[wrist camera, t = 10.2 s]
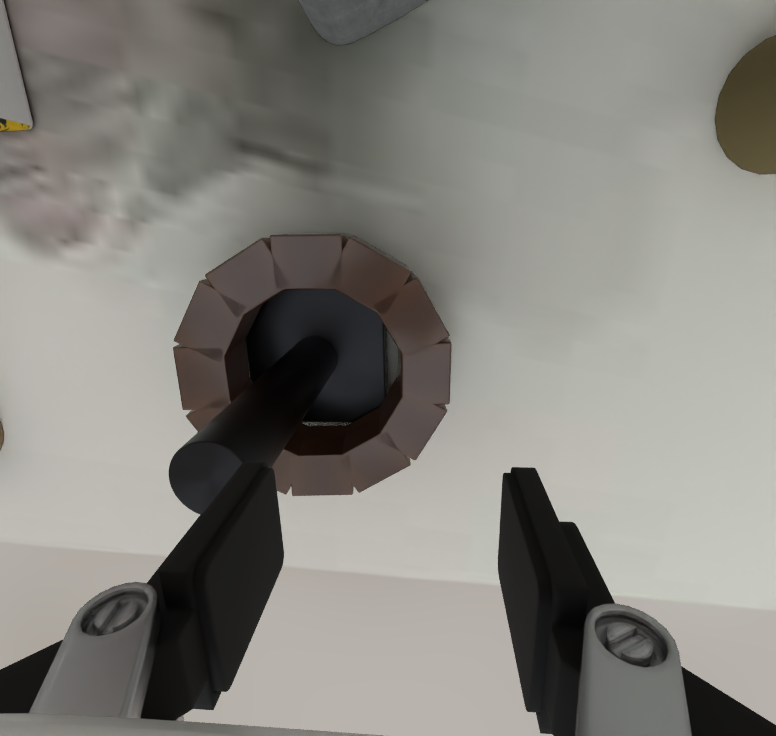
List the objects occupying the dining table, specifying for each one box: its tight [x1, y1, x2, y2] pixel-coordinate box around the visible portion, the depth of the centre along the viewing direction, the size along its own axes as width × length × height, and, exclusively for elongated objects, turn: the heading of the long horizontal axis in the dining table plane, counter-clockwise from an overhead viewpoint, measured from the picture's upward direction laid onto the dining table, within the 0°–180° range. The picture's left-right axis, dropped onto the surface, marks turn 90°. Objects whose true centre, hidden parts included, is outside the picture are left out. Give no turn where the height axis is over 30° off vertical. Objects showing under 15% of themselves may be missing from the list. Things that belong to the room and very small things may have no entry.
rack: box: [169, 289, 387, 515], centre depth 20 cm, size 8×8×14 cm
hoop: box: [173, 233, 451, 496], centre depth 24 cm, size 13×13×4 cm
